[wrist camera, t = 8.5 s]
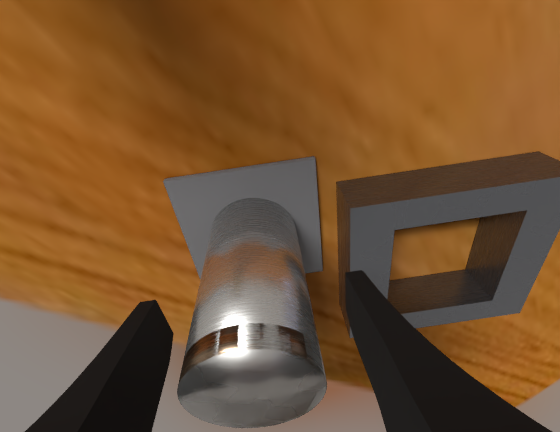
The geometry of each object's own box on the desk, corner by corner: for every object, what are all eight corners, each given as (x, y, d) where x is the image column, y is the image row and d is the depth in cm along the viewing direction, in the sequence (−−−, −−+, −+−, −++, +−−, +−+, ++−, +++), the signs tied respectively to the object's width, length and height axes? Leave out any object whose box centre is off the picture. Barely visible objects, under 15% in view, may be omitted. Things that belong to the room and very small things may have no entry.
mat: (314, 156, 14) (315, 158, 14) (321, 267, 18) (322, 270, 17) (164, 178, 14) (163, 181, 14) (204, 284, 18) (204, 288, 17)
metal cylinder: (297, 196, 15) (333, 343, 8) (295, 264, 17) (321, 422, 10) (205, 199, 14) (162, 355, 8) (216, 268, 17) (191, 433, 10)
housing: (538, 151, 15) (586, 173, 13) (490, 281, 20) (519, 312, 17) (336, 181, 15) (350, 208, 13) (339, 304, 20) (349, 338, 18)
